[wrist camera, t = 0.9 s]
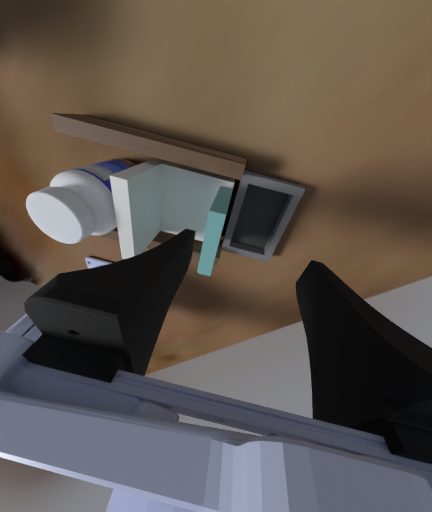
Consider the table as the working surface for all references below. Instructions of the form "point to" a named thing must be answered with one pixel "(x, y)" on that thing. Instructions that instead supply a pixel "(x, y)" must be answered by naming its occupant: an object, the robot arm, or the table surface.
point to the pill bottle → (77, 202)
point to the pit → (260, 215)
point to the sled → (170, 206)
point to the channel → (154, 148)
